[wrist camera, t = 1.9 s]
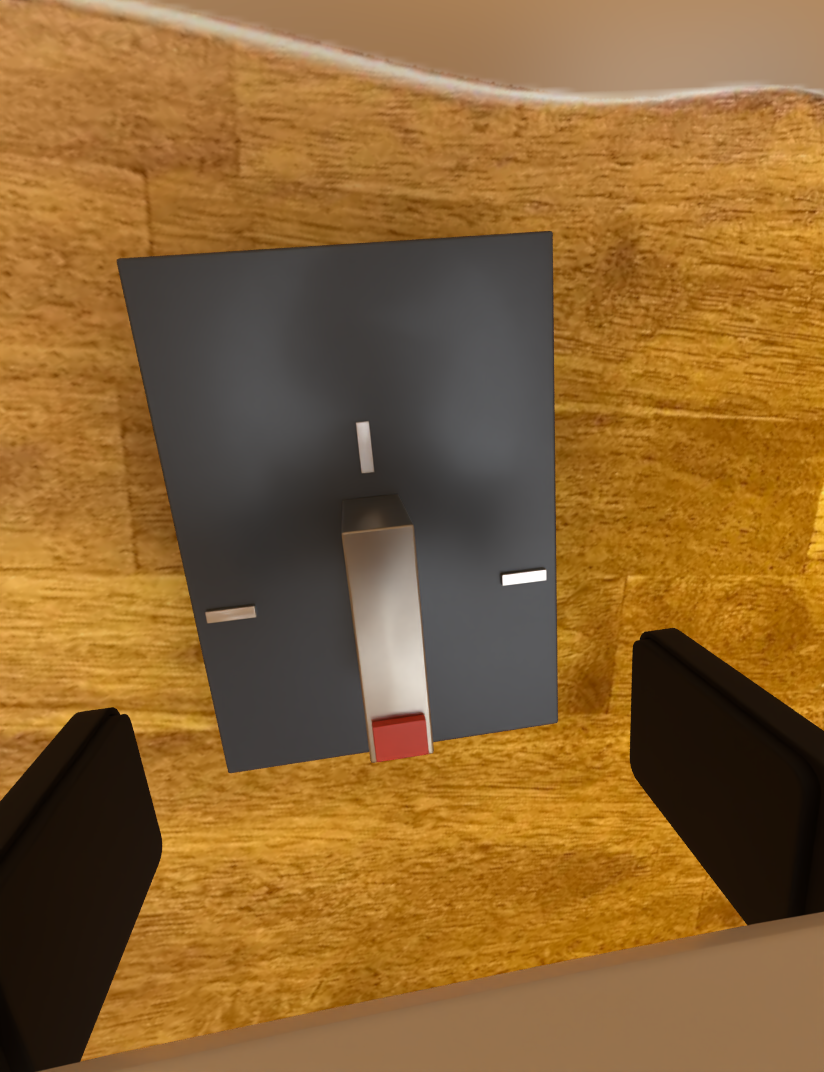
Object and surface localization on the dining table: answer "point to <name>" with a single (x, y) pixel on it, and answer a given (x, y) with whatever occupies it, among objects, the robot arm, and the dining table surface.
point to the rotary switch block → (357, 472)
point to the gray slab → (387, 626)
